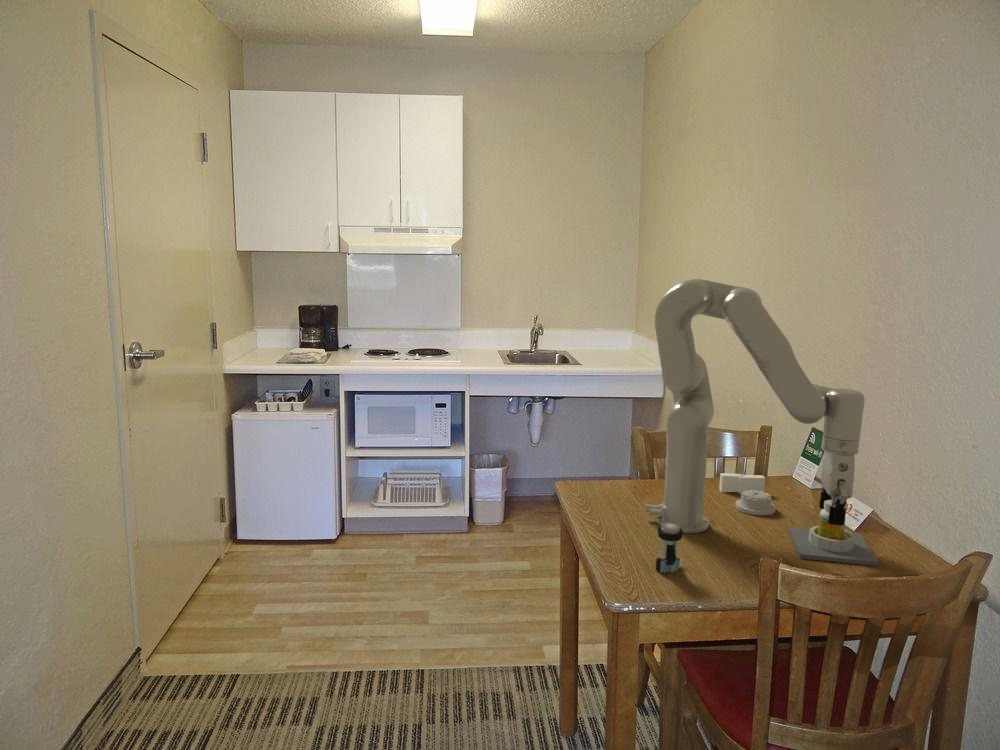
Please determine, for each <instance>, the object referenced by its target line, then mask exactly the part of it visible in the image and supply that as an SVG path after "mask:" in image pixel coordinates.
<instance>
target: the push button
mask: <svg viewBox="0 0 1000 750" xmlns="http://www.w3.org/2000/svg"><path fill="white" fill-rule="evenodd" d="M656 528H657V529H656V530H657V532H658V535H657V537H658V538H660V539H661V551H660V552H661V553H660V557H657V558H656V560H655V570H656V571H658V572H659V573H661V574H662V573H664V574H666V573H665V572H668V573H675V572H676V571H679V570H680V567H681V566H684V564H683V563H681V562H684V559H682V558H680V557H678V541H680V540H682V538H683V535H684V533H683V530H682V529H681V528H679V525H677V524H675V523H663V524H662V526H660V525H659V527H656ZM678 569H679V570H678ZM675 570H676V571H675ZM670 571H671V572H670Z"/></svg>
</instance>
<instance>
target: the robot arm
mask: <svg viewBox="0 0 1000 750" xmlns="http://www.w3.org/2000/svg"><path fill="white" fill-rule="evenodd" d="M697 315H702V316H706V317H711V318H714V319H715V318H716V319H721V320H725V321H726V323H727V324H728V326H729V327H730V328H731V330H732V331H733V333H734V334H735V335H736V337H737V338H738V339H739V341H740V342H741V344H742V345H743V346H744V348H745V349H746V351H747V353H749V355H750V356H751V358H752V360H753V361H754V362H755V364H756V366H757V368H758V369H759V371H760V372H761V373H762V375H763V376H764V377H765V379H766V381H767V382H768V384H769V386H770V388H771V389H772V391H773V392H774V393H775V395H776V396H777V398H778V399H779V401H780V402H781V403H782V405H783V406H784V408H785V409H786V410H787V412H788V413H789V415H790V416H791V417H792V418H793V419H794V420H796V421H797V422H799V423H802V424H805V425H811V424H815V423H817V422H819V421H820V420H822V419H823V418H824V420H823V421H824V422H823V430H822V438H821V440H822V441H821V446H820V448H821V450H822V451H823V452H824V455H823V462H822V467H821V468H822V469H821V480H820V482H821V491H820V497H819V504H818V505H819V508H820V509H821V510H823V509H825V508H824V501H826V500H832V506H830V511H829V519H828V523H829V524H833V525H844V521H845V522H846V518H845V516H846V512H847V504H848V500H847V498H848V499H852V498H853V492H854V481H855V480H854V479H855V467H856V466H855V465H856V463H855V462H856V460H855V455H858V454H859V447H860V439H861V434H862V433H861V432H862V424H863V417H864V409H865V401H866V399H865V398H866V397H865V395H864V394H863V393H862V392H861V391H858V390H855V389H849V388H832V387H826V386H823V385H818V384H814V383H812V381H811V380H810V379H809V377H808V376H807V375H806V373H805V371H804V369H802V367H801V366H800V364H799V362H798V359H797V358H796V356H795V353H794V350H793V348H792V345H791V344H790V341H789V340H788V338H787V337H786V335H785V334H784V333H783V331H782V330H781V329H780V328H779V326H778V324H777V323H776V322H775V320H773V318H772V316H771V315H770V313H769V312H768V310H767V309H766V308H765V306H764V305H763V302H762V298H761V296H760V295H759V293H757V292H756V291H755V290H754V289H752V288H747V287H742V286H737V285H736V286H735V285H730V284H726V283H721V282H715V281H711V280H706V279H701V278H691V279H687V280H684V281H682V282H681V281H680V282H679V283H677V284H676V285H674V286H673V287H671V289H669V290H668V291H666V293H665V294H664V295H663V296H662V297H661V299H660V300H659V302H658V304H657V307H656V309H655V315H654V328H655V336H656V341H657V349H658V350H657V351H658V355H659V361H660V362H659V363H660V368H661V376H662V380H663V384H664V386H665V387H666V388H667V390H668V391H670V392H671V393H672V396H673V397H672V398H673V402H674V404H673V405H672V406H671V408H670V409H669V412H668V415H667V418H666V456H665V475H664V477H665V478H664V491H663V492H664V493H663V497H664V498H663V500H662V503H660V504H659V503H658V504H657V505H656V504H652V503H651V504H650V503H645V505H644V507H645V508H644V512H645V513H646V512H647V513H649V515H650V516H656V524H658V525H659V527H660V526H662V524H663V523H675V524H677V525H679V528H681V529H682V530H683V534H698V533H703V532H705V531H706V530H707V531H708V529H709V527H710V522H709V519H707V518H706V516H704V505H705V489H706V477H707V476H706V475H707V474H706V473H707V458H708V455H707V454H708V431H709V426H710V424H711V422H712V420H713V416H714V412H715V410H714V409H715V408H714V402H713V396H712V395H713V394H712V391H711V384H710V378H709V373H708V369H707V365H706V362H705V360H704V359H703V357H702V356H701V355H700V354H698V353H697V352H696V351H697V350H696V346H695V338H694V333H693V329H692V322H693V321H692V320H693V318H694V317H695V316H697ZM835 501H836V502H835Z"/></svg>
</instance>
